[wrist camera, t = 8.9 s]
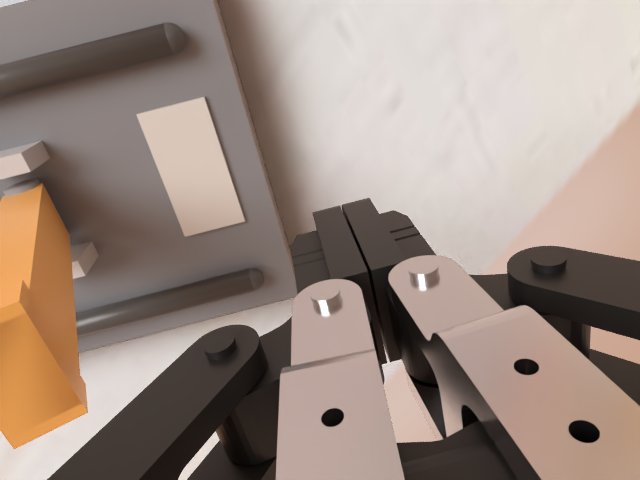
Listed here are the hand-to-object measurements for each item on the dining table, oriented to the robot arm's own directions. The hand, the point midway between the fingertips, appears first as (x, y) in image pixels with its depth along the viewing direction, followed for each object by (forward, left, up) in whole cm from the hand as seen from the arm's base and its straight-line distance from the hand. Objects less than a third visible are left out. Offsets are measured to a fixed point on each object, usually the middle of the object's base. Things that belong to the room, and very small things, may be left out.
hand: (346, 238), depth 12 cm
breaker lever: (+12, 0, -10) cm, 16 cm away
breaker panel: (+12, 0, -13) cm, 18 cm away
